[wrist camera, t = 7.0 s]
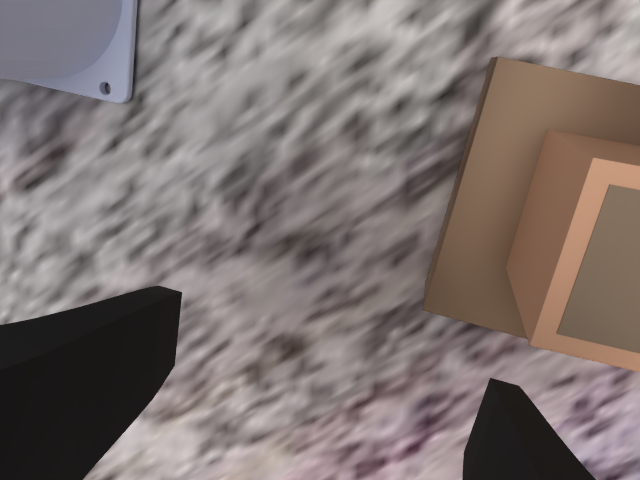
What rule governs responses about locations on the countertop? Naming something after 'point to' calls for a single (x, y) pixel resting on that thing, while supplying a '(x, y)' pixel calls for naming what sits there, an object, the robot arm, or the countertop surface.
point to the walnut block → (513, 179)
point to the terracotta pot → (581, 250)
